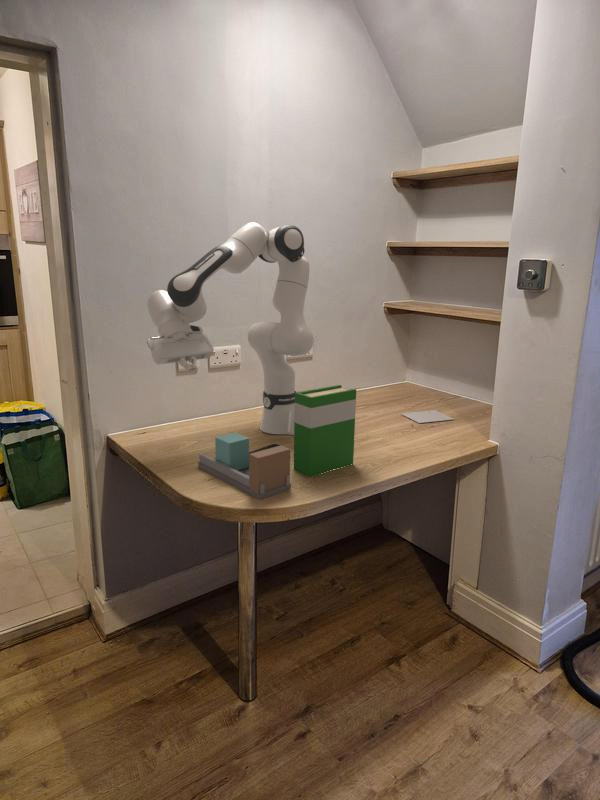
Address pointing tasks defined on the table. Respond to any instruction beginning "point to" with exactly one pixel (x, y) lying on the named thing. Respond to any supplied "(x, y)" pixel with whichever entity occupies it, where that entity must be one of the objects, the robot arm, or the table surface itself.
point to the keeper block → (233, 450)
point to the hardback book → (324, 429)
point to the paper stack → (427, 416)
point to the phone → (265, 448)
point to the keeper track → (255, 472)
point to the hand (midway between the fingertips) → (192, 370)
